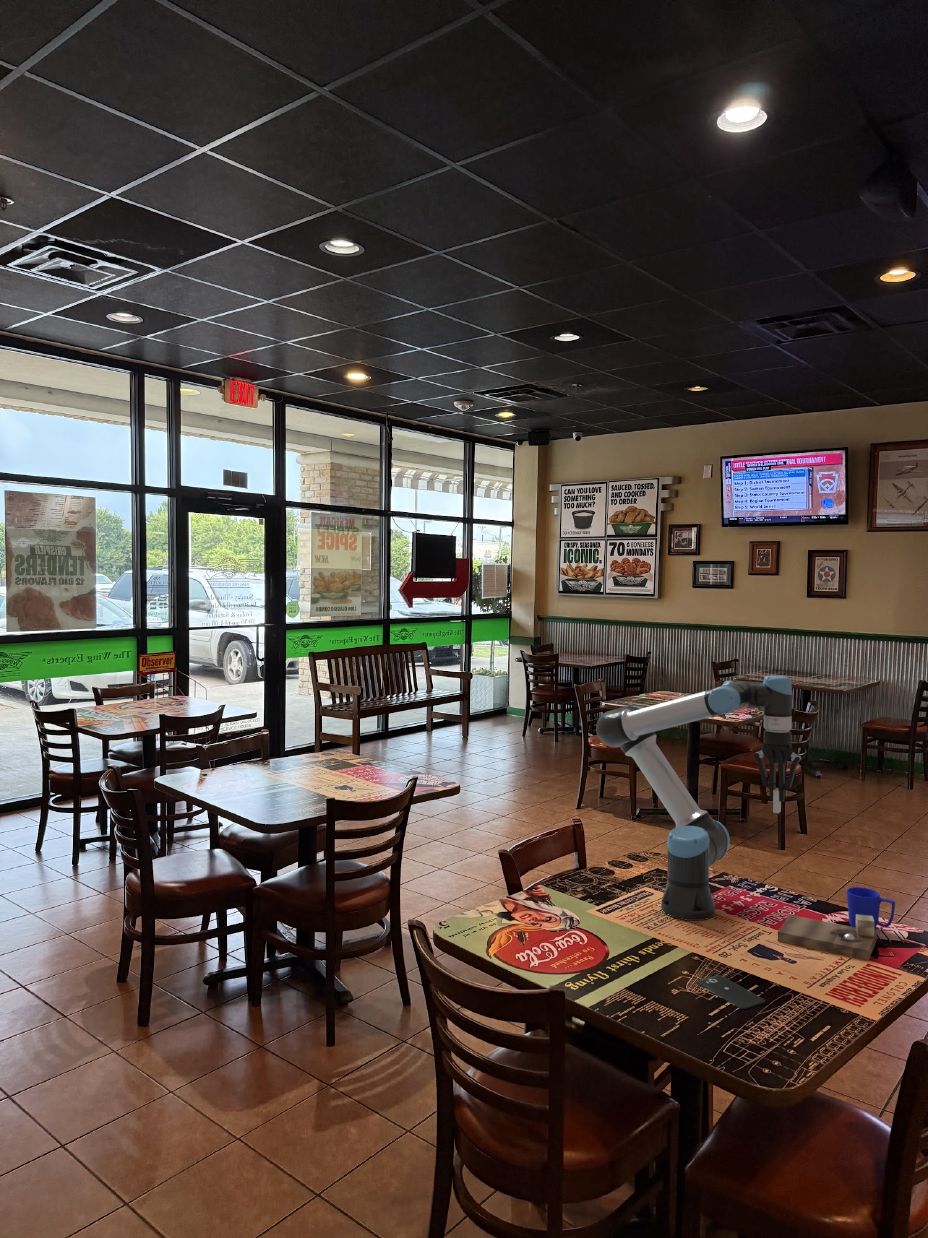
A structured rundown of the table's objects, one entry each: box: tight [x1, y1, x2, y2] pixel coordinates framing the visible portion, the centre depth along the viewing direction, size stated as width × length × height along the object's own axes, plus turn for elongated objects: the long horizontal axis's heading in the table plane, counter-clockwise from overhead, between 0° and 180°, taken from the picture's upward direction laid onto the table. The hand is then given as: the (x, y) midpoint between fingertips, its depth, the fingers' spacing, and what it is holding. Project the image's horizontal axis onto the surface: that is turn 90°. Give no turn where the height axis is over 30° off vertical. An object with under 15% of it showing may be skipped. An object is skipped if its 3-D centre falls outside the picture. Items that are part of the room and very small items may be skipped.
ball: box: [843, 933, 856, 939], centre depth 223 cm, size 3×3×3 cm
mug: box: [846, 886, 896, 931], centre depth 233 cm, size 8×12×10 cm
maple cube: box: [856, 914, 875, 937], centre depth 225 cm, size 4×4×4 cm
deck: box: [777, 914, 878, 961], centre depth 226 cm, size 22×14×2 cm, turn 57°
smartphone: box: [696, 974, 766, 1010], centre depth 198 cm, size 8×15×1 cm, turn 27°
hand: (777, 812), depth 244 cm, fingers closed
